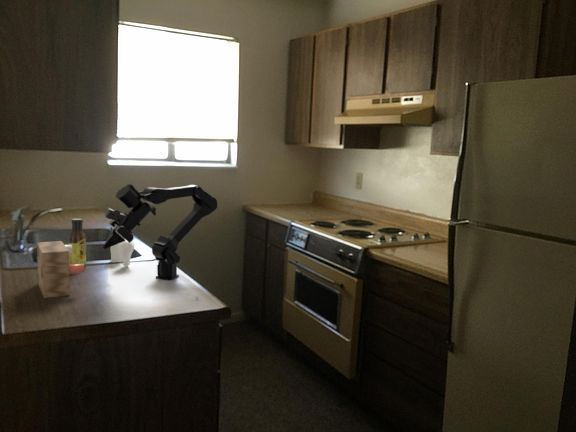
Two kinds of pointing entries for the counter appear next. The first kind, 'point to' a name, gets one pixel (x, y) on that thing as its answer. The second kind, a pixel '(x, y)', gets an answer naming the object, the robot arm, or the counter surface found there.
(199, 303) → the counter surface
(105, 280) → the counter surface
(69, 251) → the ivory button
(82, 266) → the salmon pink cylinder
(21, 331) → the counter surface
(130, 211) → the robot arm
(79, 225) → the sauce bottle
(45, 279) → the wooden block
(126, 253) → the lightbulb
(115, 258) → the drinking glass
